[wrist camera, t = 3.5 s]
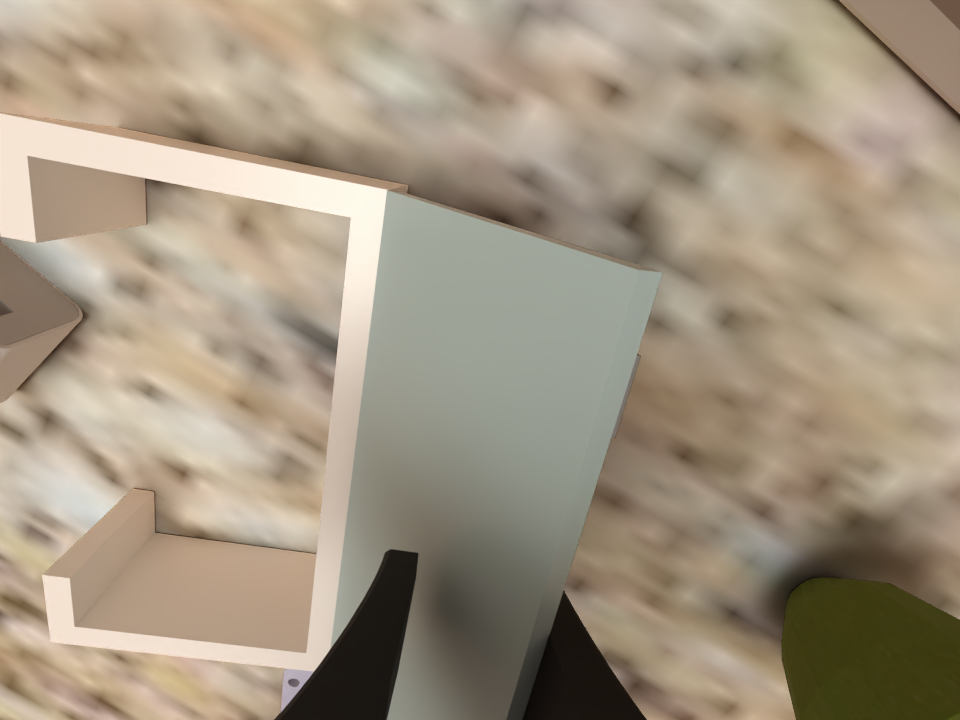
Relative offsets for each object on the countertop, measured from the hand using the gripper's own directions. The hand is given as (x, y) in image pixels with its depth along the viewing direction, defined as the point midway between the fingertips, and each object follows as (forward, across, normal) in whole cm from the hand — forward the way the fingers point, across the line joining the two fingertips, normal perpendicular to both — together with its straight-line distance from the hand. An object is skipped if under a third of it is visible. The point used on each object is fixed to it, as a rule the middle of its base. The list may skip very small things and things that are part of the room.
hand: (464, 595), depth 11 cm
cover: (+1, +1, 0) cm, 1 cm away
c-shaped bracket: (+9, +8, 0) cm, 12 cm away
